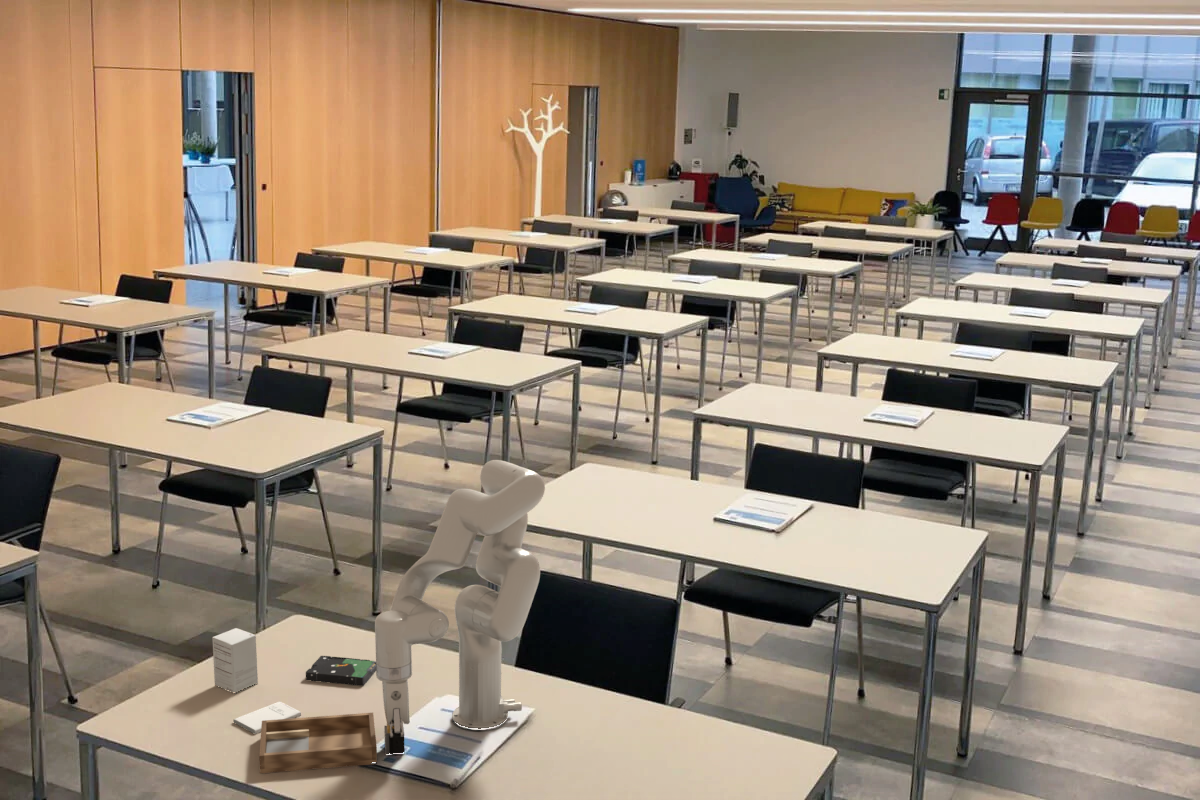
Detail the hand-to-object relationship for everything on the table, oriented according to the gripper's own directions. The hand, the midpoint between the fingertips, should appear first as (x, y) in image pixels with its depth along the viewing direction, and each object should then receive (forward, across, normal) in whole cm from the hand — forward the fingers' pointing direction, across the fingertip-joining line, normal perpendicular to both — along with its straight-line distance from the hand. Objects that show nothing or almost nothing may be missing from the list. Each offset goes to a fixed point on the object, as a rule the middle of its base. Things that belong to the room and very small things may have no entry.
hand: (396, 746), depth 284 cm
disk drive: (+2, +41, +11) cm, 42 cm away
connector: (+1, 0, 0) cm, 1 cm away
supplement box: (+1, +39, +35) cm, 53 cm away
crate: (+1, +3, +16) cm, 17 cm away
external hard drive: (+1, +20, +28) cm, 34 cm away
